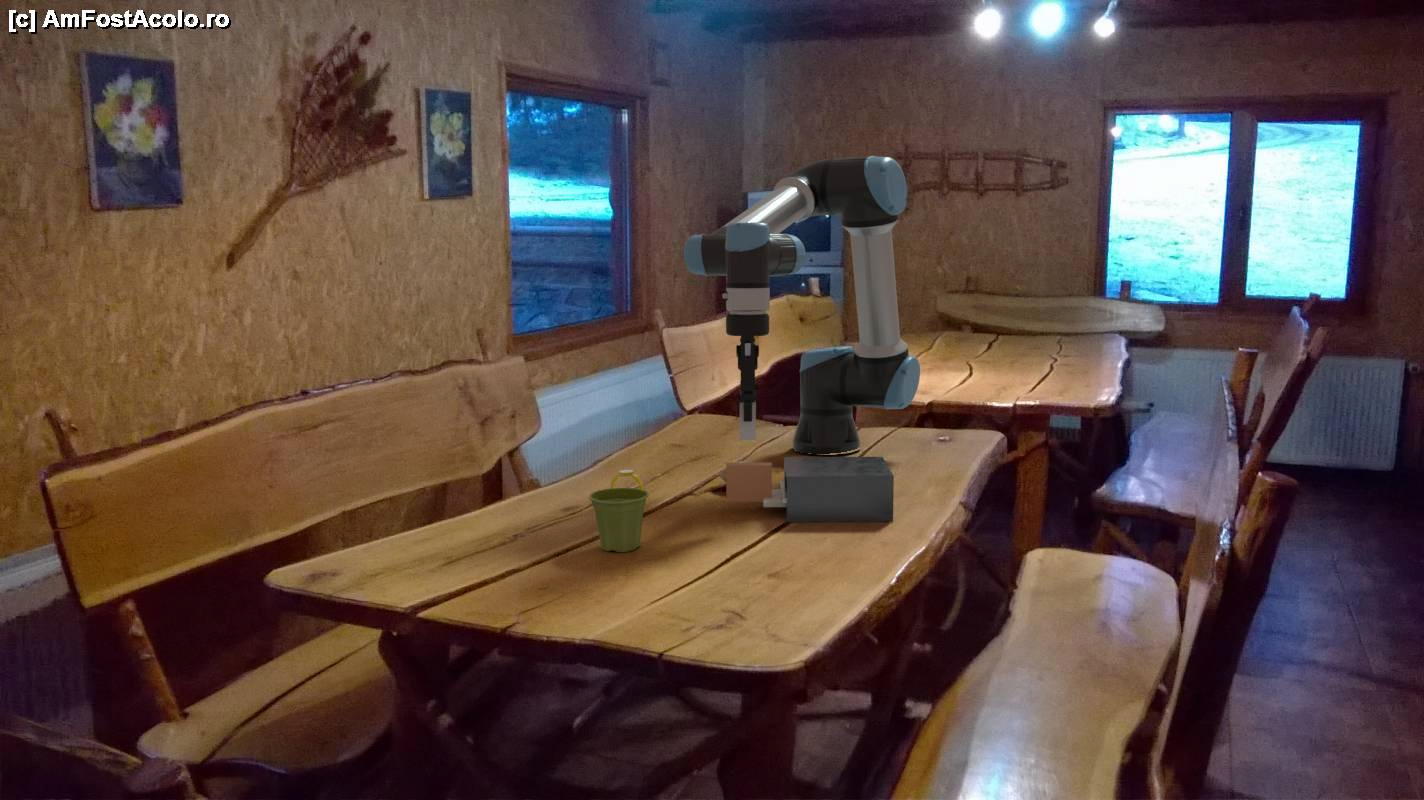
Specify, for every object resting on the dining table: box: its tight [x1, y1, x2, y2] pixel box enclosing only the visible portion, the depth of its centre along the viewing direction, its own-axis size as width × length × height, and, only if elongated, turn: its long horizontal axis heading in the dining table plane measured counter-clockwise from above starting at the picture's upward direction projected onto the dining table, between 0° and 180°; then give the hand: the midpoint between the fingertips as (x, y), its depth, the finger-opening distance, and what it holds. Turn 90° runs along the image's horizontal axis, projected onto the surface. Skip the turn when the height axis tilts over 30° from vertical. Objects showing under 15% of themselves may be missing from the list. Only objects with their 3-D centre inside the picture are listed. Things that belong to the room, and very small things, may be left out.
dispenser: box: [779, 456, 895, 523], centre depth 200 cm, size 16×19×8 cm
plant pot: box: [588, 487, 649, 553], centre depth 178 cm, size 9×9×9 cm
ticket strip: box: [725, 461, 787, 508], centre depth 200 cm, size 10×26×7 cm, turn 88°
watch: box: [610, 469, 644, 490], centre depth 208 cm, size 6×3×6 cm, turn 76°
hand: (747, 433), depth 198 cm, fingers open, 13 cm apart
